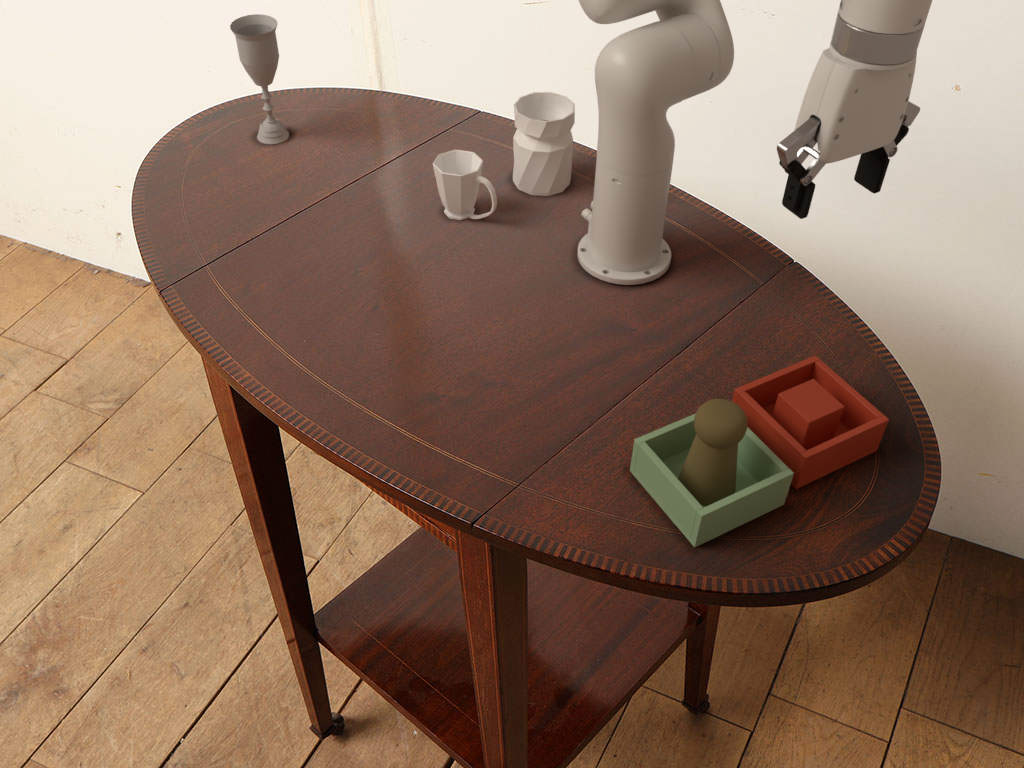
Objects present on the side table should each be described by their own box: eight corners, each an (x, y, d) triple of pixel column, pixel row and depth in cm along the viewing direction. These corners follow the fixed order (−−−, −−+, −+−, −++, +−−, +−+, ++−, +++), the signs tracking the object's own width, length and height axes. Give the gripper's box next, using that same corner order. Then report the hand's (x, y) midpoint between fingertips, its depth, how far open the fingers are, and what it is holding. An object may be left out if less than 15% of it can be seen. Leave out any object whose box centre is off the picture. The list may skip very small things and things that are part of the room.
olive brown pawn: (729, 462, 106) (747, 388, 99) (740, 506, 102) (760, 432, 94) (673, 463, 106) (687, 389, 98) (682, 507, 102) (697, 433, 94)
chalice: (253, 125, 158) (232, 15, 146) (296, 123, 159) (279, 13, 146) (249, 148, 153) (227, 36, 140) (293, 146, 153) (276, 34, 141)
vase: (553, 202, 143) (557, 128, 135) (501, 185, 146) (502, 111, 138) (580, 174, 149) (586, 101, 140) (530, 158, 152) (532, 86, 143)
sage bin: (629, 470, 106) (634, 439, 102) (715, 433, 110) (722, 401, 107) (694, 547, 99) (701, 516, 95) (784, 504, 103) (794, 473, 99)
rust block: (769, 425, 110) (778, 393, 107) (803, 410, 112) (813, 378, 109) (799, 454, 107) (809, 422, 104) (833, 438, 109) (845, 406, 106)
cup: (455, 192, 145) (454, 143, 139) (510, 216, 140) (511, 166, 135) (424, 213, 140) (421, 164, 135) (480, 239, 136) (479, 189, 131)
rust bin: (727, 420, 112) (734, 388, 108) (805, 386, 116) (815, 355, 112) (795, 489, 104) (805, 458, 101) (876, 451, 108) (889, 419, 105)
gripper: (914, 3, 94) (867, 161, 106) (773, 40, 88) (740, 203, 100) (975, 34, 90) (919, 195, 101) (831, 75, 83) (789, 241, 95)
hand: (830, 198), depth 101 cm, fingers open, 9 cm apart
